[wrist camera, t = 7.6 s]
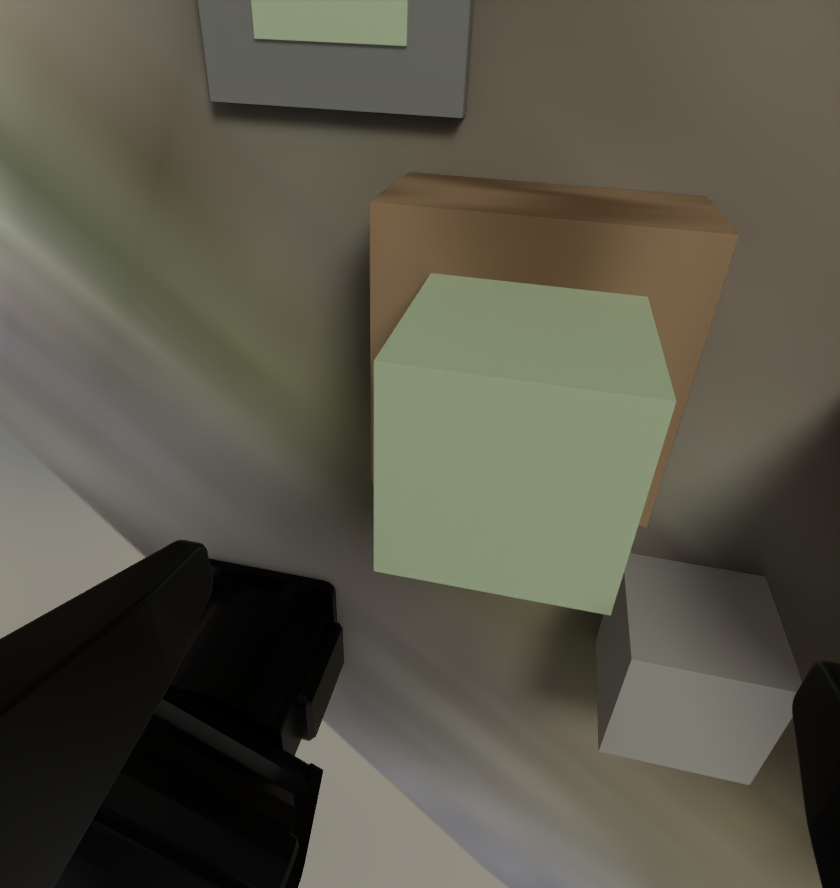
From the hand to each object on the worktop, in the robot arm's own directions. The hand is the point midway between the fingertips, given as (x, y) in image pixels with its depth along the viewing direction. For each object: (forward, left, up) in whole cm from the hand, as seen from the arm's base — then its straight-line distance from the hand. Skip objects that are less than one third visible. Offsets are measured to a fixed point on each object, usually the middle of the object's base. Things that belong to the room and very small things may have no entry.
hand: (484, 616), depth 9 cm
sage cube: (0, 0, -8) cm, 8 cm away
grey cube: (+7, -11, -12) cm, 18 cm away
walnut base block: (0, 0, -12) cm, 12 cm away
